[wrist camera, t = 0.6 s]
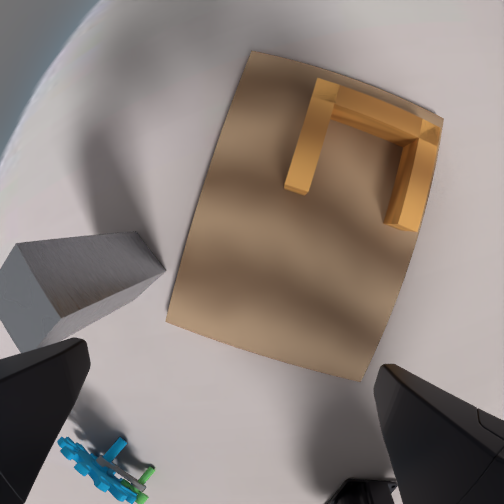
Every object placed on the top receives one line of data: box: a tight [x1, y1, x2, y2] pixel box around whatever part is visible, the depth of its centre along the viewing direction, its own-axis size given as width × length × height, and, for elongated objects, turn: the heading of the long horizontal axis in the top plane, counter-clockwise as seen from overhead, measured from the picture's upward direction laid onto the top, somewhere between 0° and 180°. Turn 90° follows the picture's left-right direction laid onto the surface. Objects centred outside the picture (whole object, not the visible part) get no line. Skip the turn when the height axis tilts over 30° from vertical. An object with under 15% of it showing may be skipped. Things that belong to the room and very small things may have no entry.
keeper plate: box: [165, 51, 444, 382], centre depth 20 cm, size 22×16×4 cm
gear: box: [57, 437, 155, 504], centre depth 24 cm, size 11×6×10 cm
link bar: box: [0, 231, 166, 353], centre depth 17 cm, size 4×4×13 cm
